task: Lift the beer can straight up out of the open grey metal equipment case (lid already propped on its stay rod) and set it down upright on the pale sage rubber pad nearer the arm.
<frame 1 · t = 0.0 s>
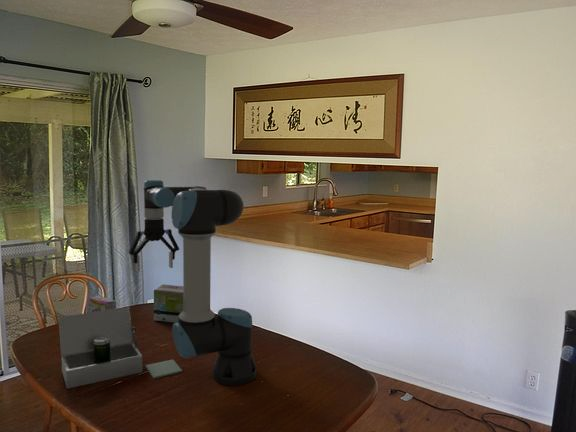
hand: (154, 269, 193), 28 cm above the table, fingers open, 13 cm apart
tea box: (173, 319, 215), on the table
case: (102, 372, 162), on the table
pad: (163, 369, 165), on the table
candy bar box: (103, 338, 191), on the table
beer can: (102, 372, 162), resting in case
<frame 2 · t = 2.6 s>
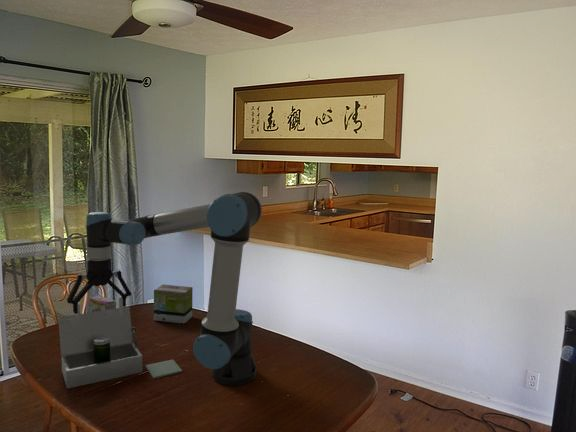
hand: (100, 319, 159), 19 cm above the table, fingers open, 13 cm apart
nothing on the table moved.
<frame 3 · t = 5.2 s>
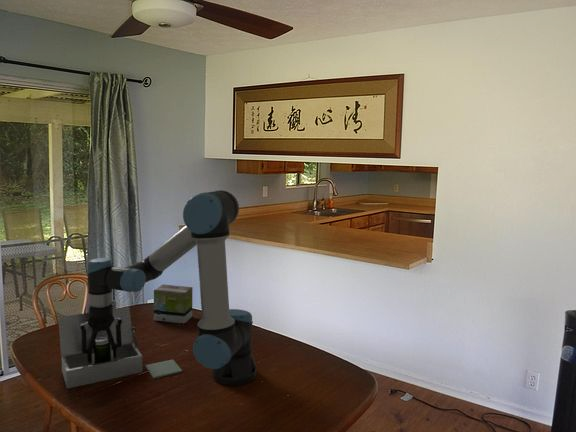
hand: (102, 368, 162), 1 cm above the table, fingers closed on beer can, 5 cm apart
beer can: (102, 372, 162), resting in case, touching gripper
everything else where it was.
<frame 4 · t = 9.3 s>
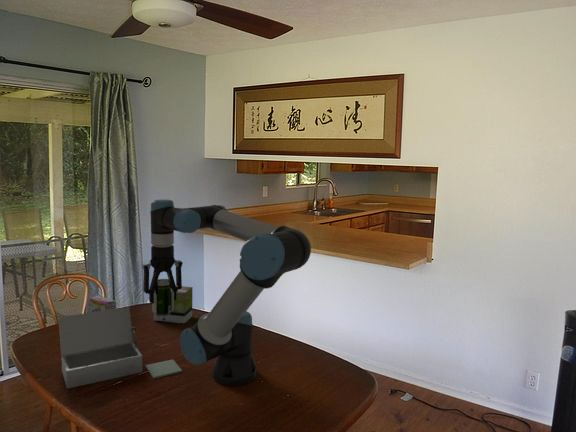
hand: (163, 310, 162), 22 cm above the table, fingers closed on beer can, 5 cm apart
beer can: (163, 314, 162), point 20 cm above the table, touching gripper
everything else where it was.
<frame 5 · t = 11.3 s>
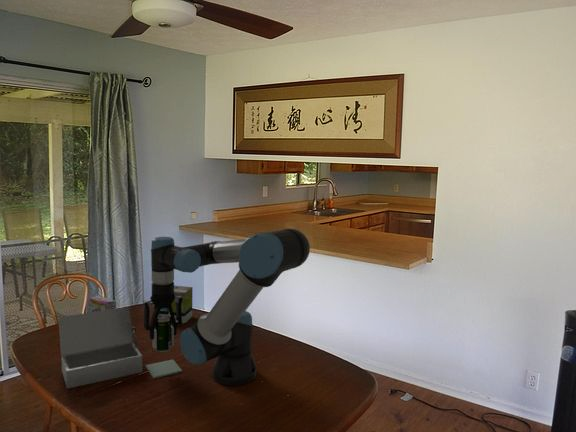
hand: (163, 345, 164), 9 cm above the table, fingers closed on beer can, 5 cm apart
beer can: (163, 349, 164), point 7 cm above the table, touching gripper
everything else where it was.
when the fingers open (2 cm above the table, at t = 13.4 s): beer can stays where it is, resting on pad.
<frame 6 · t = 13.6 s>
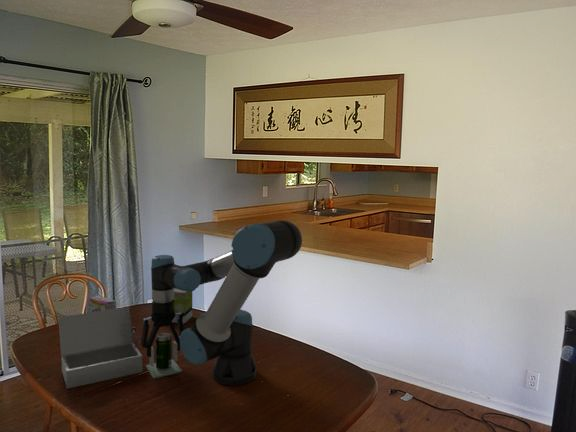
hand: (163, 362, 165), 3 cm above the table, fingers open, 8 cm apart
beer can: (163, 368, 165), resting on pad
everything else where it was.
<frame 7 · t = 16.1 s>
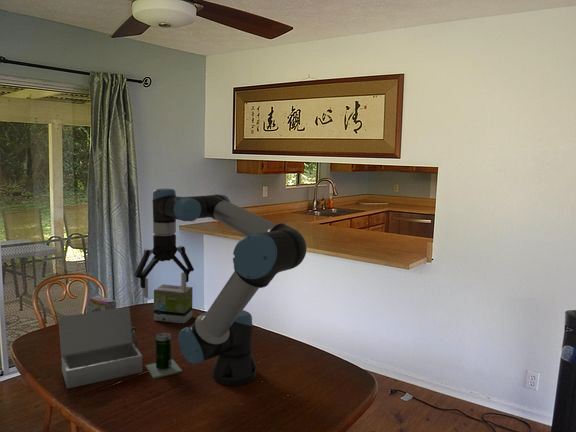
hand: (165, 294, 163), 27 cm above the table, fingers open, 13 cm apart
nothing on the table moved.
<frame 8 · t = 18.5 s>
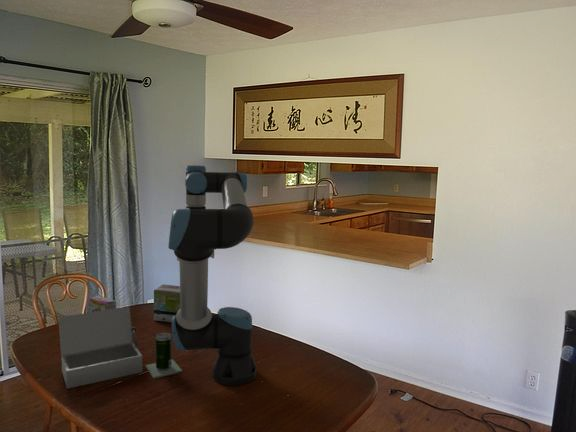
hand: (195, 259, 183), 35 cm above the table, fingers open, 13 cm apart
nothing on the table moved.
at the end: beer can inside the target area on the pad (0.0 cm from its centre), point 0.4 cm above the pad's base; beer can tilted 0°; the gripper is holding nothing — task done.
